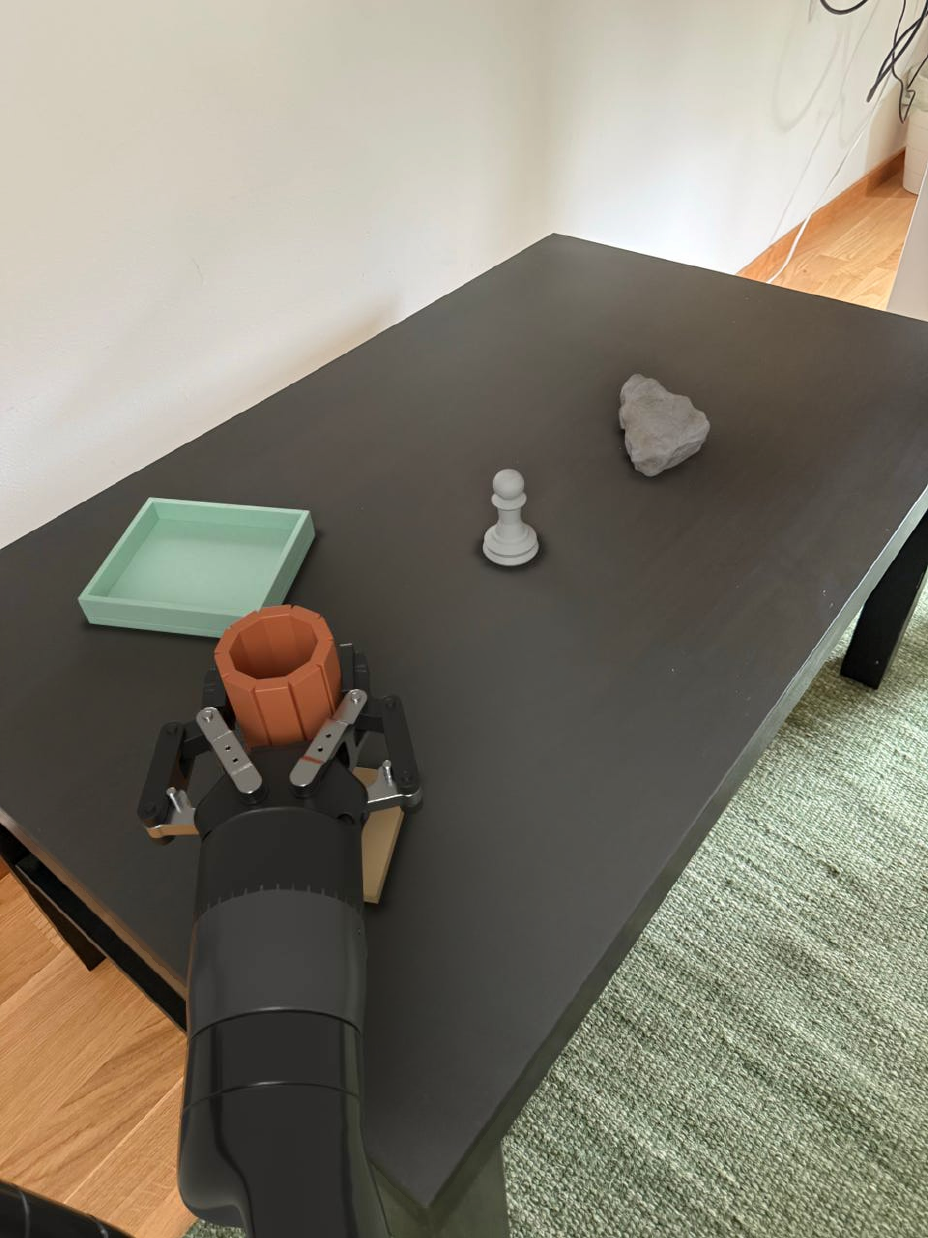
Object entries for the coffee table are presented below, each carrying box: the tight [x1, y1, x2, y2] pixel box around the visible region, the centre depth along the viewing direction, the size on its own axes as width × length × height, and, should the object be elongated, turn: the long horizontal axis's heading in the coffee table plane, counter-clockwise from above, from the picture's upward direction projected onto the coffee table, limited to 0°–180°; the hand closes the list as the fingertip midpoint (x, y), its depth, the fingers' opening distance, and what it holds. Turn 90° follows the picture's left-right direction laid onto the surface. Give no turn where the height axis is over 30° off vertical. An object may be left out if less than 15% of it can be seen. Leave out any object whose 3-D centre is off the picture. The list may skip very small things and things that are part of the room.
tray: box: [77, 497, 316, 639], centre depth 78 cm, size 15×13×3 cm
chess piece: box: [482, 468, 540, 567], centre depth 76 cm, size 5×5×8 cm
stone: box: [618, 373, 711, 477], centre depth 86 cm, size 10×8×6 cm
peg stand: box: [352, 766, 405, 904], centre depth 56 cm, size 9×9×12 cm
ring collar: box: [213, 604, 343, 753], centre depth 51 cm, size 6×6×9 cm
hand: (288, 661), depth 52 cm, fingers closed on ring collar, 6 cm apart
